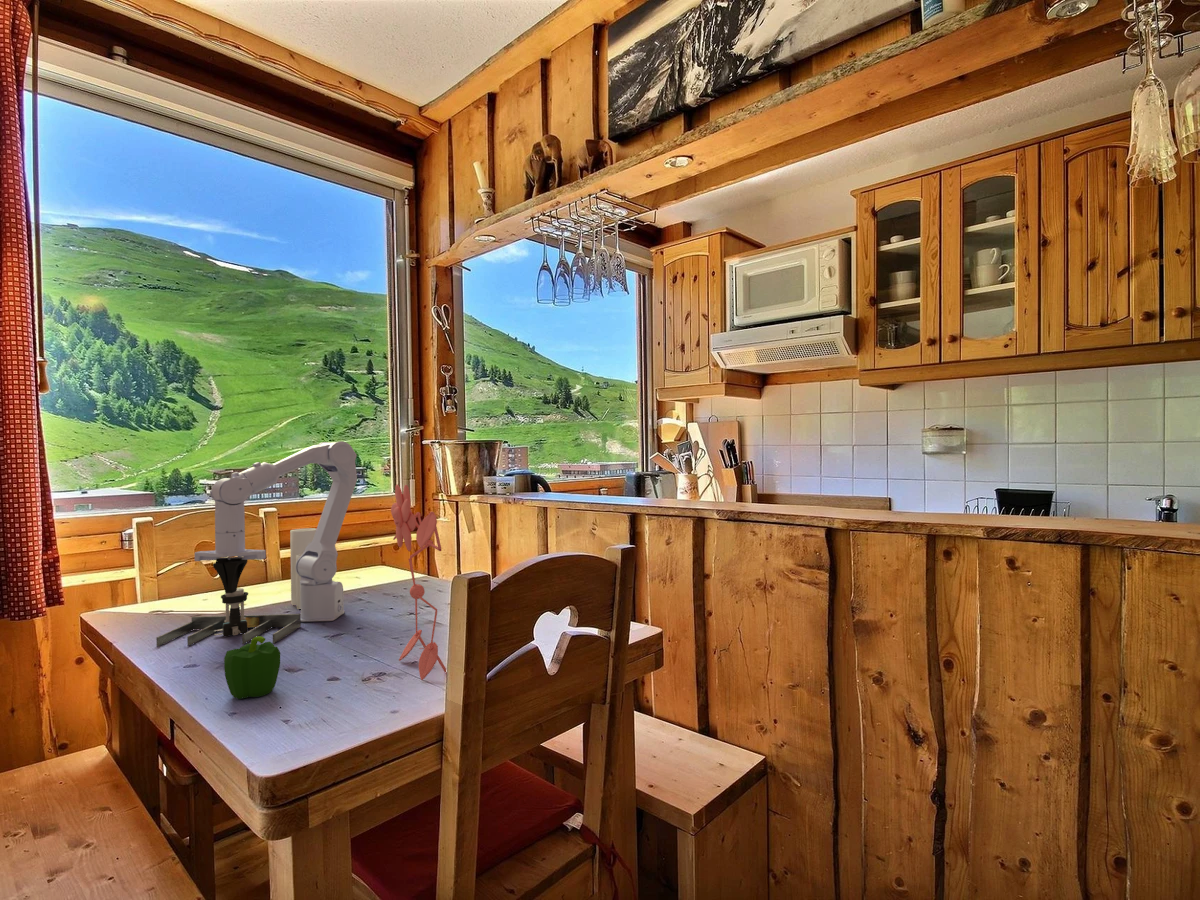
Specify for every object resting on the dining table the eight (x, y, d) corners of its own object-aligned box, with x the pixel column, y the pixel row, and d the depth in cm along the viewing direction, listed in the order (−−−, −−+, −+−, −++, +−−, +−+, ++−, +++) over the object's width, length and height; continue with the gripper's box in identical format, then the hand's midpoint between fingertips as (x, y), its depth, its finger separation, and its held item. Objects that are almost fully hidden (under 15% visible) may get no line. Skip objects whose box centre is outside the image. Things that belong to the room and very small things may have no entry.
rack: (300, 626, 143) (300, 613, 143) (274, 643, 131) (274, 629, 131) (193, 629, 142) (193, 616, 142) (156, 646, 130) (156, 632, 130)
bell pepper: (218, 694, 103) (218, 635, 103) (271, 681, 109) (270, 625, 109) (232, 708, 97) (231, 646, 97) (287, 694, 103) (286, 635, 103)
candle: (288, 602, 166) (287, 529, 166) (316, 598, 171) (315, 527, 171) (299, 610, 158) (298, 533, 158) (328, 605, 162) (327, 531, 162)
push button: (214, 640, 134) (214, 594, 134) (213, 634, 138) (213, 590, 138) (249, 634, 137) (249, 590, 137) (247, 629, 142) (247, 586, 142)
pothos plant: (424, 645, 127) (418, 479, 127) (466, 686, 106) (459, 485, 105) (346, 662, 119) (339, 484, 119) (374, 709, 97) (366, 491, 97)
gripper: (185, 534, 132) (186, 597, 132) (254, 533, 133) (254, 595, 133) (205, 530, 139) (205, 589, 139) (270, 529, 140) (270, 588, 140)
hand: (230, 592), depth 136 cm, fingers closed, pressing on push button
